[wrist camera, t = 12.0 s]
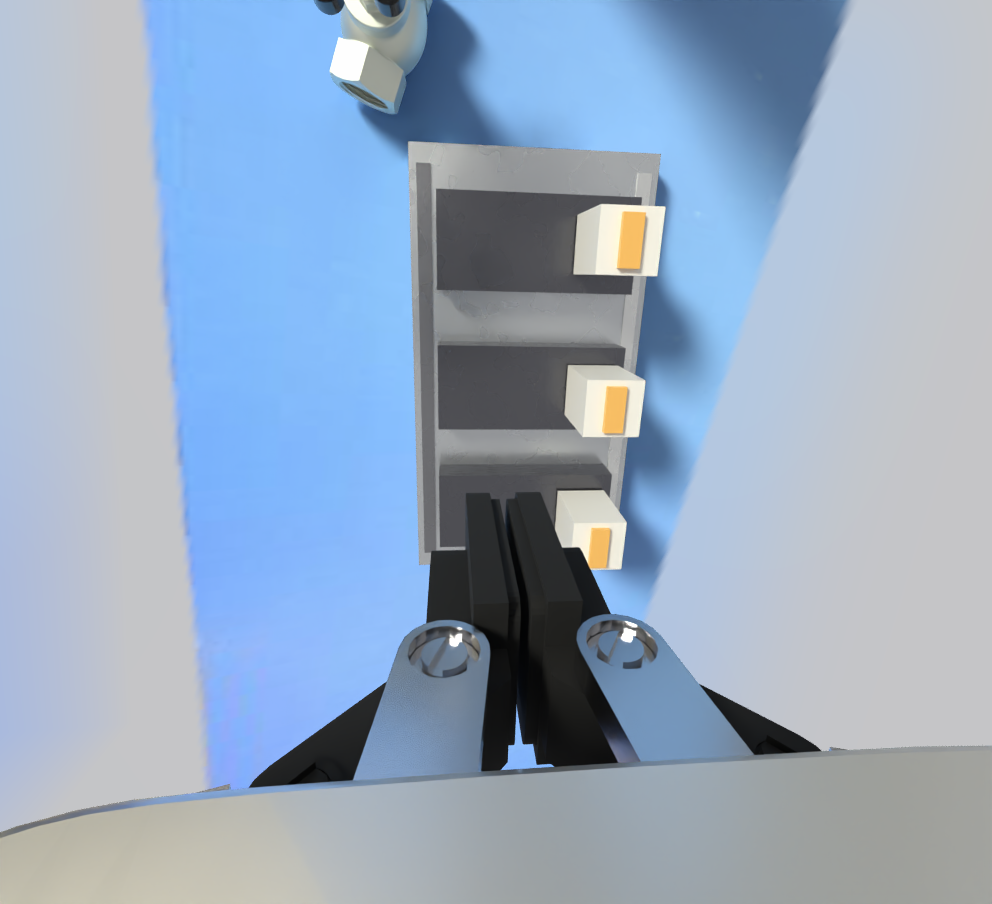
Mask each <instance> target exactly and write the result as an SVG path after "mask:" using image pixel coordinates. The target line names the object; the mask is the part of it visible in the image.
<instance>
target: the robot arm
mask: <svg viewBox="0 0 992 904" xmlns="http://www.w3.org/2000/svg"><path fill="white" fill-rule="evenodd" d="M516 704H517V710H518V717H519V723H520V730H521V737H522V742H523V744H533V746H534V752H535V757H536V763H537V765H541V764H552V765H553V766H555V767H546V768H530V769H514V770H501V769H502V768H503V767H504V765H505V764H506V763H507V762H508V745H514V743H515V724H516ZM0 904H992V746H938V747H937V746H932V747H901V748H883V749H861V750H846V749H840V748H833V747H830V749H829V751H821V750H820V749H819V748H818V747H817V746H816V745H814V744H812V743H811V742H809V741H808V740H806V739H804V738H803V737H801V736H800V735H798V734H796V733H794V732H792V731H790V730H788V729H786V728H784V727H782V726H780V725H778V724H776V723H774V722H773V721H770V720H768V719H767V718H765V717H762V716H760V715H759V714H757V713H755V712H753V711H751V710H749V709H747V708H745V707H743V706H741V705H739V704H737V703H735V702H733V701H731V700H729V699H728V698H726V697H724V696H722V695H720V694H718V693H716V692H714V691H712V690H710V689H708V688H706V687H704V686H702V685H700V684H698V682H697V681H696V680H695V679H694V677H693V676H692V675H691V673H690V672H689V671H688V670H687V669H686V667H685V666H684V665H683V663H682V662H681V661H680V659H679V658H678V657H677V656H676V654H675V653H674V652H673V650H672V649H671V648H670V647H669V645H668V644H667V643H666V642H665V640H664V639H663V638H662V637H661V635H659V634H658V633H657V632H656V631H655V630H654V629H653V628H652V627H650V626H649V625H647V624H645V623H644V622H642V621H640V620H637V619H634V618H632V617H629V616H623V615H617V614H611V613H610V611H609V609H608V607H607V605H606V602H605V600H604V598H603V596H602V594H601V591H600V589H599V587H598V585H597V583H596V580H595V578H594V576H593V574H592V572H591V569H590V567H589V565H588V563H587V561H586V559H585V556H584V554H583V552H582V550H581V549H580V548H579V547H563V548H562V546H561V543H560V541H559V538H558V536H557V533H556V531H555V528H554V526H553V523H552V520H551V518H550V515H549V513H548V510H547V508H546V505H545V503H544V500H543V498H542V495H541V493H540V492H516V493H515V499H506V511H505V523H504V518H503V514H502V509H501V504H500V499H491V496H490V493H466V495H465V550H438V551H431V561H430V576H429V591H428V606H427V621H426V624H423V625H421V626H420V627H418V628H416V629H414V630H412V631H411V632H410V633H409V634H408V635H407V636H406V637H404V639H403V641H402V643H401V644H400V646H399V648H398V651H397V654H396V657H395V660H394V663H393V666H392V669H391V672H390V674H389V677H388V680H387V682H385V683H384V684H383V685H381V686H380V687H379V688H377V689H376V690H374V691H373V692H372V693H370V694H369V695H367V696H366V697H365V698H363V699H362V700H361V701H359V702H358V703H356V704H355V705H354V706H352V707H351V708H349V709H348V710H347V711H345V712H344V713H342V714H341V715H340V716H338V717H337V718H336V719H334V720H333V721H331V722H330V723H329V724H327V725H326V726H324V727H323V728H322V729H320V730H319V731H318V732H316V733H315V734H313V735H312V736H311V737H309V738H308V739H306V740H305V741H304V742H302V743H301V744H299V745H298V746H297V747H295V748H294V749H293V750H291V751H290V752H288V753H287V754H286V755H284V756H283V757H281V758H280V759H279V760H277V761H276V762H275V763H273V764H272V765H270V766H269V767H268V768H267V769H266V770H265V771H264V772H262V773H261V774H260V775H259V776H258V777H257V778H256V779H255V780H254V781H253V782H252V784H251V785H250V787H249V788H242V789H231V787H230V784H228V785H224V786H220V787H216V788H213V789H209V790H205V791H202V792H197V793H192V794H183V795H174V796H164V797H155V798H146V799H137V800H129V801H124V802H119V803H113V804H108V805H103V806H97V807H92V808H86V809H81V810H76V811H72V812H68V813H65V814H61V815H57V816H54V817H50V818H46V819H42V820H39V821H35V822H31V823H28V824H24V825H20V826H16V827H14V828H11V829H8V830H6V831H3V832H0Z"/></svg>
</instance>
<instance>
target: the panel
mask: <svg viewBox="0 0 992 904" xmlns="http://www.w3.org/2000/svg"><path fill="white" fill-rule="evenodd" d="M660 157H661V154H650V153H630V152H610V151H591V150H571V149H552V148H532V147H512V146H493V145H473V144H454V143H434V142H414V141H408V160H409V198H410V236H411V274H412V312H413V350H414V388H415V426H416V463H417V501H418V539H419V565H427V564H430V561H431V551H438V550H465V495H466V493H490V496H491V499H500V504H501V509H502V514H503V518H504V523H505V511H506V499H515V493H516V492H540V493H541V495H542V498H543V500H544V503H545V505H546V508H547V510H548V513H549V515H550V518H551V520H552V523H553V526H554V528H555V522H556V508H557V494H558V491H588V490H604V491H605V493H606V494H607V495H608V497H609V498H610V500H611V501H612V502H613V504H614V505H615V507H616V508H617V509H618V511H619V509H620V500H621V491H622V483H623V474H624V466H625V457H626V449H627V440H628V437H582V436H581V434H580V433H579V432H578V431H577V429H576V428H575V427H574V426H573V425H572V423H571V422H570V421H569V420H568V418H567V417H566V416H565V415H564V413H565V399H566V386H567V372H568V365H609V366H620V367H621V368H623V369H625V370H627V371H629V372H631V373H633V374H634V375H635V371H636V363H637V354H638V346H639V337H640V328H641V320H642V311H643V303H644V294H645V285H646V277H647V276H611V275H576V274H573V272H574V258H575V244H576V230H577V216H578V214H581V213H583V212H585V211H587V210H589V209H591V208H594V207H596V206H598V205H600V204H616V205H640V206H655V200H656V191H657V182H658V174H659V165H660Z"/></svg>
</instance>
